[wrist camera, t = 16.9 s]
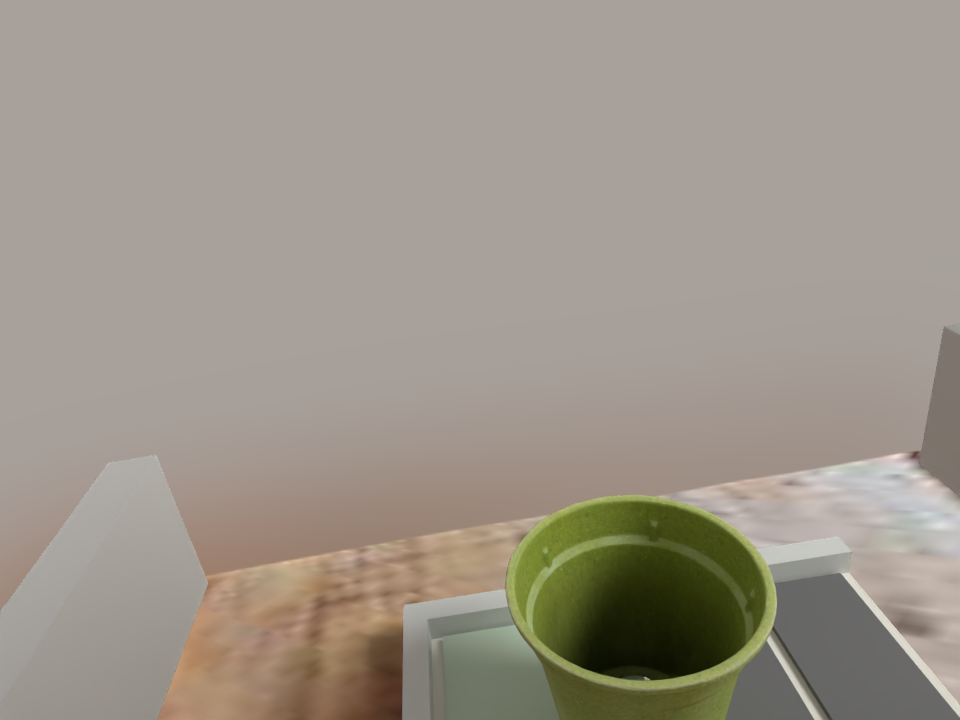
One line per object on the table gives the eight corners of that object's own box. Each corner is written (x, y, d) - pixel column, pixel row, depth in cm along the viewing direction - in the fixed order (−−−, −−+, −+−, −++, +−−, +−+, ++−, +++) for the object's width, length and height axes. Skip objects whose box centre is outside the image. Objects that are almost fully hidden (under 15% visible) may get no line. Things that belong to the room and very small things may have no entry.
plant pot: (793, 862, 23) (817, 688, 19) (520, 851, 24) (495, 685, 21) (730, 641, 31) (739, 490, 28) (529, 642, 33) (512, 498, 29)
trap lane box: (833, 571, 36) (838, 536, 35) (1059, 849, 24) (1077, 807, 23) (411, 638, 36) (403, 605, 34) (411, 964, 23) (399, 926, 22)
